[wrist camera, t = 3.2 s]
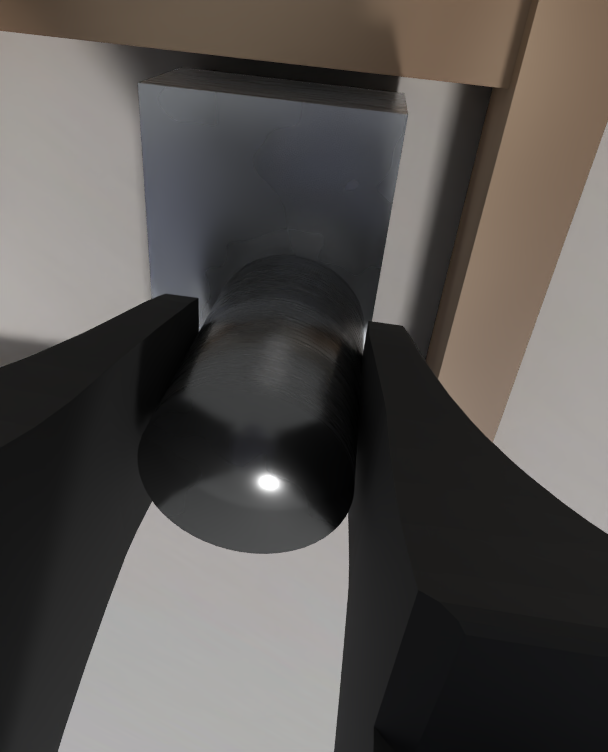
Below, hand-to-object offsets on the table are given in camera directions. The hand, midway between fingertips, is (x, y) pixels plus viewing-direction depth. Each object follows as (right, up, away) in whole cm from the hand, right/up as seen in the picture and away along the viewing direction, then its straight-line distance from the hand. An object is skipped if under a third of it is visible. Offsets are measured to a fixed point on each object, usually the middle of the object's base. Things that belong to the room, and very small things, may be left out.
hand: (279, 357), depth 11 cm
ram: (0, +2, +3) cm, 4 cm away
